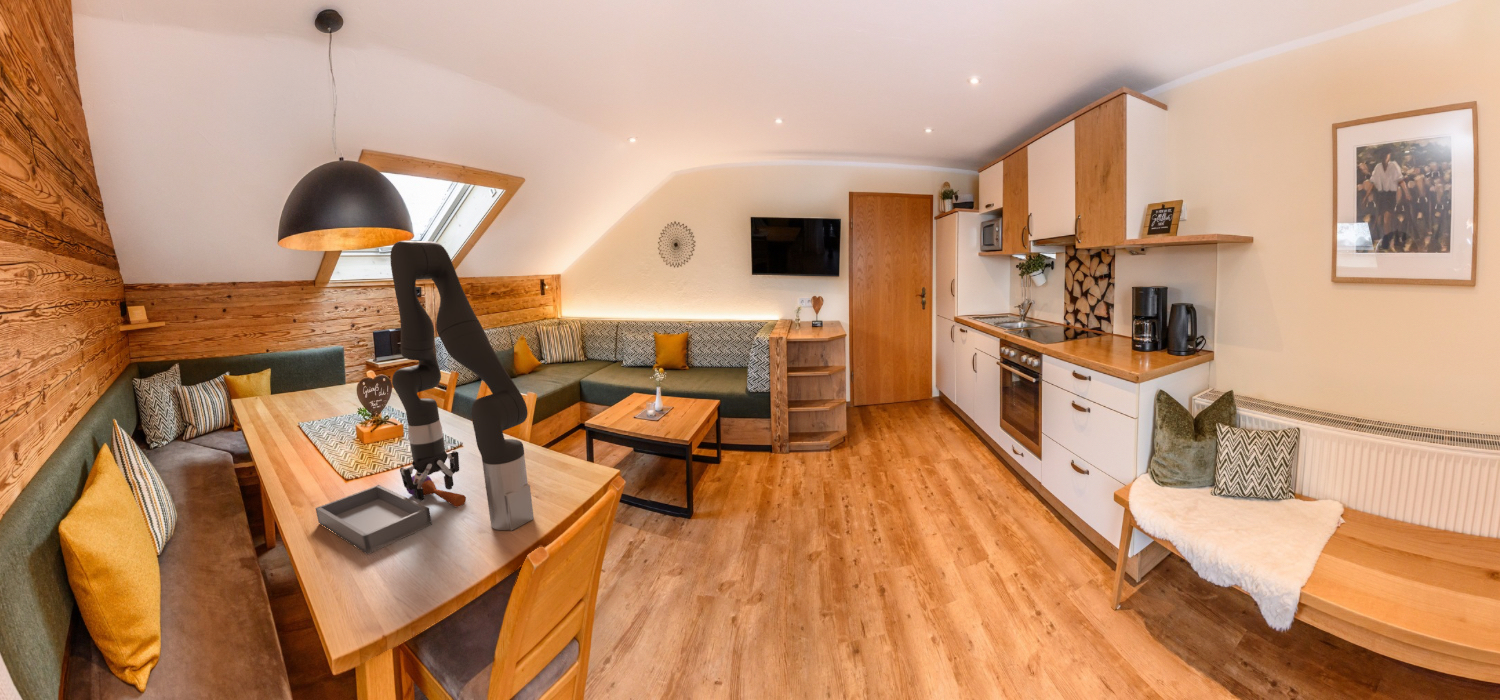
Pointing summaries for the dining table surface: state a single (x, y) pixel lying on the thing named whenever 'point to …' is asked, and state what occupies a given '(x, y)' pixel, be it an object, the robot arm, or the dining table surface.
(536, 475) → the dining table surface
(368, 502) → the box
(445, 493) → the purple and brown maraca
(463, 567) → the dining table surface
